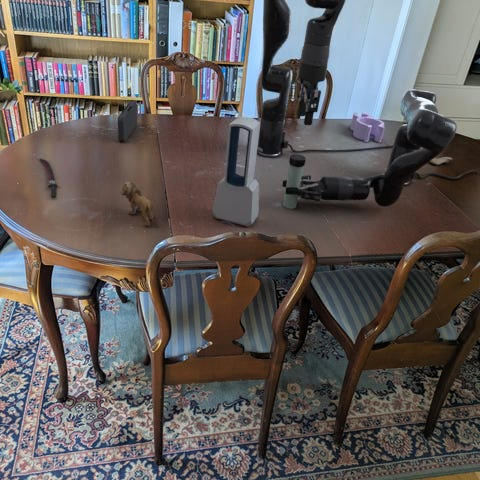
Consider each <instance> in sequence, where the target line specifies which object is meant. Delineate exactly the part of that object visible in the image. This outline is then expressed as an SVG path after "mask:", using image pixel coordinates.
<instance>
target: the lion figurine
mask: <svg viewBox="0 0 480 480" xmlns="http://www.w3.org/2000/svg"><path fill="white" fill-rule="evenodd" d="M119 193H120V194H121V196H122V197H124V196H125V198H126V199H127V200H128V202H129V203H130V207H131V211H130V212H129V213H130V215H135V214H136V211H137V212H141V214H142V216H143V218H144V219H145V223H144V225H145V227H149V226H150V221H152V223H153V225H155V226H159V222H156V221H155V219H154V217H153V216H154V215H153V204H152V202H151V200H150V199H148V198H146V197H145V196H144V195H143V194H142V192H141V190H140V187H138V185H136V184H135V183H133V182H132V181H125V182H124V186H122V188H121V189H119ZM136 207H137V208H136ZM148 214H149V216H148Z"/></svg>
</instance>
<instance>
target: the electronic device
mask: <svg viewBox="0 0 480 480" xmlns="http://www.w3.org/2000/svg"><path fill="white" fill-rule="evenodd" d="M260 122H261V121H259V120H257V119H255V118H252V117H249V116H240V117H236V118H235V119H233V121H232V122H230V123H229V124H228V127H227V129H228V130H227V142H226V153H225V166H224V167H225V168H224V177H223V178H222V179H221V180H220V181H219V182H218V184H217V186H216V191H215V196H214V201H213V205H212V209H211V210H212V211H211V212H212V215H213V217H215V219H217V220H221V221H225V222H229V223H233V224H237V225H241V226H245V227H250V226H251V225H253V223H254V222H255V221H256V219H257V218H258V216H259V207H260V205H259V203H260V183H259V182H258V181H257V179H256V178H255V169H256V162H257V154H258V153H257V146H258V139H259V131H260ZM241 129H243V130H244V131H247V142H246V143H247V144H246V153H245V162H244V171H243V175H241V174H238V173H237V162H238V152H239V143H240V142H239V141H240V131H241Z"/></svg>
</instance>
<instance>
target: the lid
mask: <svg viewBox="0 0 480 480" xmlns="http://www.w3.org/2000/svg"><path fill="white" fill-rule="evenodd" d="M306 160H307V159H306V156H305V155H302V154H300V153H292V154H290V156H289V161H288V163H289V166H290V165H292V166H295V167H303V168H304V167H305V165H306Z"/></svg>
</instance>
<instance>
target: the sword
mask: <svg viewBox="0 0 480 480" xmlns="http://www.w3.org/2000/svg"><path fill="white" fill-rule="evenodd" d="M40 161H41V162H42V163H43V165H44V166H45V169H46V173H47V176H48V185H47V188H50V198H56V197H57V189H56V188H57V187H59V185H58V184H57V183H56V180H55V176H54V172H53V169H52V167H51V164H50V163H49V161H48V160H46V159H43V158H40Z"/></svg>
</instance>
